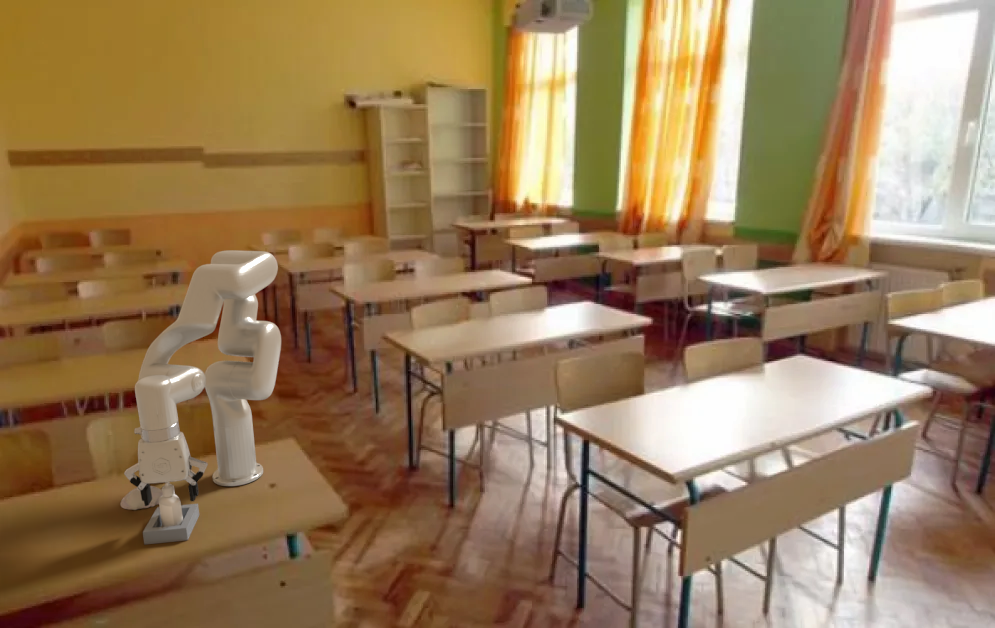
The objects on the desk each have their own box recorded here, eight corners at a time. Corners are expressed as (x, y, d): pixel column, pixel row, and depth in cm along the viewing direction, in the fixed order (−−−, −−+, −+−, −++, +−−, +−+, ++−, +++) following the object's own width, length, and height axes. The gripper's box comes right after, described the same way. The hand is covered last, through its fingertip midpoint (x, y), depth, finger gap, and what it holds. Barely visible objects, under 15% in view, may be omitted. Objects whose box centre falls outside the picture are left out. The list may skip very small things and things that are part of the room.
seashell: (110, 502, 166) (127, 475, 175) (115, 519, 168) (132, 492, 177) (154, 499, 166) (168, 472, 175) (159, 517, 169) (173, 489, 178)
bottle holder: (158, 518, 164) (157, 507, 163) (199, 515, 165) (198, 503, 164) (144, 544, 153) (142, 532, 152) (187, 540, 155) (186, 528, 154)
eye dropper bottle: (163, 537, 156) (156, 488, 153) (161, 525, 161) (155, 478, 158) (184, 532, 158) (178, 483, 155) (182, 521, 163) (176, 473, 160)
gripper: (112, 442, 149) (124, 513, 153) (198, 434, 151) (207, 505, 156) (124, 427, 156) (135, 496, 160) (205, 421, 159) (214, 488, 163)
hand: (171, 500), depth 158 cm, fingers open, 9 cm apart
